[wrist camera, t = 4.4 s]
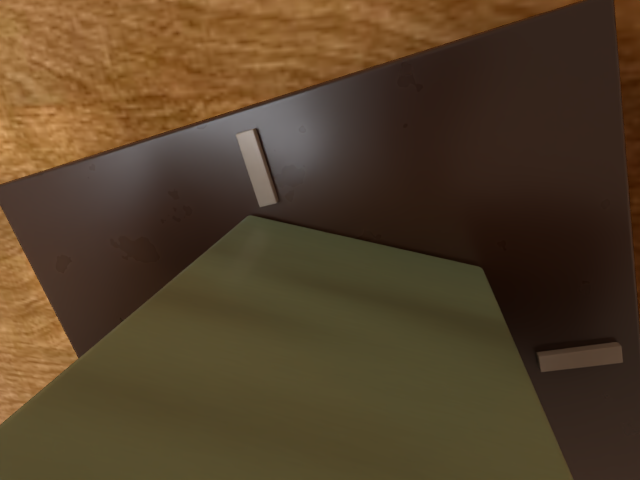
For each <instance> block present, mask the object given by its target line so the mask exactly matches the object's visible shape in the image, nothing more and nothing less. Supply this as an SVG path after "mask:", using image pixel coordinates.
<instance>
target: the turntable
mask: <svg viewBox="0 0 640 480" xmlns="http://www.w3.org/2000/svg"><path fill="white" fill-rule="evenodd" d="M0 206H1V208H2V210H3V211H4V213H5V215H6V217H7V219H8V221H9V223H10V225H11V227H12V229H13V231H14V233H15V235H16V237H17V239H18V241H19V243H20V245H21V247H22V249H23V251H24V253H25V254H26V256H27V258H28V260H29V262H30V264H31V266H32V268H33V270H34V272H35V274H36V276H37V278H38V280H39V282H40V284H41V286H42V288H43V290H44V292H45V294H46V295H47V297H48V299H49V301H50V303H51V305H52V307H53V309H54V311H55V313H56V315H57V317H58V319H59V321H60V323H61V325H62V327H63V329H64V331H65V333H66V335H67V336H68V338H69V340H70V342H71V344H72V346H73V348H74V350H75V352H76V354H77V356H78V358H80V357H81V356H82V355H84V354H85V353H86V352H87V351H88V350H89V349H91V348H92V347H93V346H94V345H95V344H97V343H98V342H99V341H100V340H101V339H102V338H104V337H105V336H106V335H107V334H108V333H110V332H111V331H112V330H113V329H114V328H116V327H117V326H118V325H119V324H120V323H121V322H123V321H124V320H125V319H126V318H127V317H129V316H130V315H131V314H132V313H133V312H134V311H136V310H137V309H138V308H139V307H140V306H142V305H143V304H144V303H145V302H146V301H147V300H149V299H150V298H151V297H152V296H153V295H155V294H156V293H157V292H158V291H159V290H161V289H162V288H163V287H164V286H165V285H166V284H168V283H169V282H170V281H171V280H172V279H174V278H175V277H176V276H177V275H178V274H179V273H181V272H182V271H183V270H184V269H185V268H187V267H188V266H189V265H190V264H191V263H193V262H194V261H195V260H196V259H197V258H198V257H200V256H201V255H202V254H203V253H204V252H206V251H207V250H208V249H209V248H210V247H211V246H213V245H214V244H215V243H216V242H217V241H219V240H220V239H221V238H222V237H223V236H225V235H226V234H227V233H228V232H229V231H230V230H232V229H233V228H234V227H235V226H236V225H238V224H239V223H240V222H241V221H242V220H243V219H245V218H246V217H247V216H250V215H251V216H256V217H260V218H265V219H269V220H274V221H278V222H283V223H287V224H291V225H296V226H300V227H305V228H309V229H314V230H318V231H323V232H327V233H331V234H336V235H340V236H345V237H349V238H354V239H358V240H363V241H367V242H372V243H376V244H380V245H385V246H389V247H394V248H398V249H403V250H407V251H412V252H416V253H420V254H425V255H429V256H434V257H438V258H443V259H447V260H452V261H456V262H460V263H465V264H469V265H474V266H478V267H481V268H482V269H483V271H484V273H485V275H486V278H487V280H488V282H489V285H490V287H491V289H492V291H493V294H494V296H495V298H496V301H497V303H498V305H499V308H500V310H501V312H502V315H503V317H504V319H505V322H506V324H507V326H508V329H509V331H510V333H511V336H512V338H513V340H514V343H515V345H516V347H517V350H518V352H519V354H520V357H521V359H522V361H523V363H524V366H525V368H526V370H527V373H528V375H529V377H530V380H531V382H532V384H533V387H534V389H535V391H536V394H537V396H538V398H539V401H540V403H541V405H542V408H543V410H544V412H545V415H546V417H547V419H548V422H549V424H550V426H551V429H552V431H553V433H554V436H555V438H556V440H557V442H558V445H559V447H560V449H561V452H562V454H563V456H564V459H565V461H566V463H567V466H568V468H569V470H570V473H571V475H572V477H573V480H640V325H639V312H638V299H637V287H636V274H635V261H634V248H633V236H632V223H631V210H630V198H629V185H628V172H627V159H626V147H625V134H624V121H623V109H622V96H621V83H620V70H619V58H618V45H617V32H616V20H615V7H614V0H583V1H579V2H576V3H573V4H570V5H567V6H564V7H560V8H557V9H554V10H551V11H548V12H545V13H541V14H538V15H535V16H532V17H529V18H526V19H522V20H519V21H516V22H513V23H510V24H507V25H503V26H500V27H497V28H494V29H491V30H488V31H484V32H481V33H478V34H475V35H472V36H469V37H465V38H462V39H459V40H456V41H453V42H450V43H446V44H443V45H440V46H437V47H434V48H431V49H427V50H424V51H421V52H418V53H415V54H412V55H408V56H405V57H402V58H399V59H396V60H393V61H389V62H386V63H383V64H380V65H377V66H373V67H370V68H367V69H364V70H361V71H358V72H354V73H351V74H348V75H345V76H342V77H339V78H335V79H332V80H329V81H326V82H323V83H320V84H316V85H313V86H310V87H307V88H304V89H301V90H297V91H294V92H291V93H288V94H285V95H282V96H278V97H275V98H272V99H269V100H266V101H263V102H259V103H256V104H253V105H250V106H247V107H244V108H240V109H237V110H234V111H231V112H228V113H225V114H221V115H218V116H215V117H212V118H209V119H206V120H202V121H199V122H196V123H193V124H190V125H187V126H183V127H180V128H177V129H174V130H171V131H168V132H164V133H161V134H158V135H155V136H152V137H149V138H145V139H142V140H139V141H136V142H133V143H130V144H126V145H123V146H120V147H117V148H114V149H111V150H107V151H104V152H101V153H98V154H95V155H92V156H88V157H85V158H82V159H79V160H76V161H73V162H69V163H66V164H63V165H60V166H57V167H54V168H50V169H47V170H44V171H41V172H38V173H35V174H31V175H28V176H25V177H22V178H19V179H16V180H12V181H9V182H6V183H3V184H0Z"/></svg>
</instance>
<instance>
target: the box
mask: <svg viewBox="0 0 640 480" xmlns="http://www.w3.org/2000/svg"><path fill="white" fill-rule="evenodd" d="M0 480H573V477H572V475H571V473H570V470H569V468H568V466H567V463H566V461H565V459H564V456H563V454H562V452H561V449H560V447H559V445H558V442H557V440H556V438H555V436H554V433H553V431H552V429H551V426H550V424H549V422H548V419H547V417H546V415H545V412H544V410H543V408H542V405H541V403H540V401H539V398H538V396H537V394H536V391H535V389H534V387H533V384H532V382H531V380H530V377H529V375H528V373H527V370H526V368H525V366H524V363H523V361H522V359H521V357H520V354H519V352H518V350H517V347H516V345H515V343H514V340H513V338H512V336H511V333H510V331H509V329H508V326H507V324H506V322H505V319H504V317H503V315H502V312H501V310H500V308H499V305H498V303H497V301H496V298H495V296H494V294H493V291H492V289H491V287H490V285H489V282H488V280H487V278H486V275H485V273H484V271H483V269H482V268H481V267H478V266H474V265H469V264H465V263H460V262H456V261H452V260H447V259H443V258H438V257H434V256H429V255H425V254H420V253H416V252H412V251H407V250H403V249H398V248H394V247H389V246H385V245H380V244H376V243H372V242H367V241H363V240H358V239H354V238H349V237H345V236H340V235H336V234H331V233H327V232H323V231H318V230H314V229H309V228H305V227H300V226H296V225H291V224H287V223H283V222H278V221H274V220H269V219H265V218H260V217H256V216H251V215H250V216H247V217H246V218H245V219H243V220H242V221H241V222H240V223H239V224H238V225H236V226H235V227H234V228H233V229H232V230H230V231H229V232H228V233H227V234H226V235H225V236H223V237H222V238H221V239H220V240H219V241H217V242H216V243H215V244H214V245H213V246H211V247H210V248H209V249H208V250H207V251H206V252H204V253H203V254H202V255H201V256H200V257H198V258H197V259H196V260H195V261H194V262H193V263H191V264H190V265H189V266H188V267H187V268H185V269H184V270H183V271H182V272H181V273H179V274H178V275H177V276H176V277H175V278H174V279H172V280H171V281H170V282H169V283H168V284H166V285H165V286H164V287H163V288H162V289H161V290H159V291H158V292H157V293H156V294H155V295H153V296H152V297H151V298H150V299H149V300H147V301H146V302H145V303H144V304H143V305H142V306H140V307H139V308H138V309H137V310H136V311H134V312H133V313H132V314H131V315H130V316H129V317H127V318H126V319H125V320H124V321H123V322H121V323H120V324H119V325H118V326H117V327H116V328H114V329H113V330H112V331H111V332H110V333H108V334H107V335H106V336H105V337H104V338H102V339H101V340H100V341H99V342H98V343H97V344H95V345H94V346H93V347H92V348H91V349H89V350H88V351H87V352H86V353H85V354H84V355H82V356H81V357H80V358H79V359H78V360H76V361H75V362H74V363H73V364H72V365H70V366H69V367H68V368H67V369H66V370H65V371H63V372H62V373H61V374H60V375H59V376H57V377H56V378H55V379H54V380H53V381H52V382H50V383H49V384H48V385H47V386H46V387H44V388H43V389H42V390H41V391H40V392H38V393H37V394H36V395H35V396H34V397H33V398H31V399H30V400H29V401H28V402H27V403H25V404H24V405H23V406H22V407H21V408H20V409H18V410H17V411H16V412H15V413H14V414H12V415H11V416H10V417H9V418H8V419H7V420H5V421H4V422H3V423H2V424H1V425H0Z"/></svg>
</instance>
